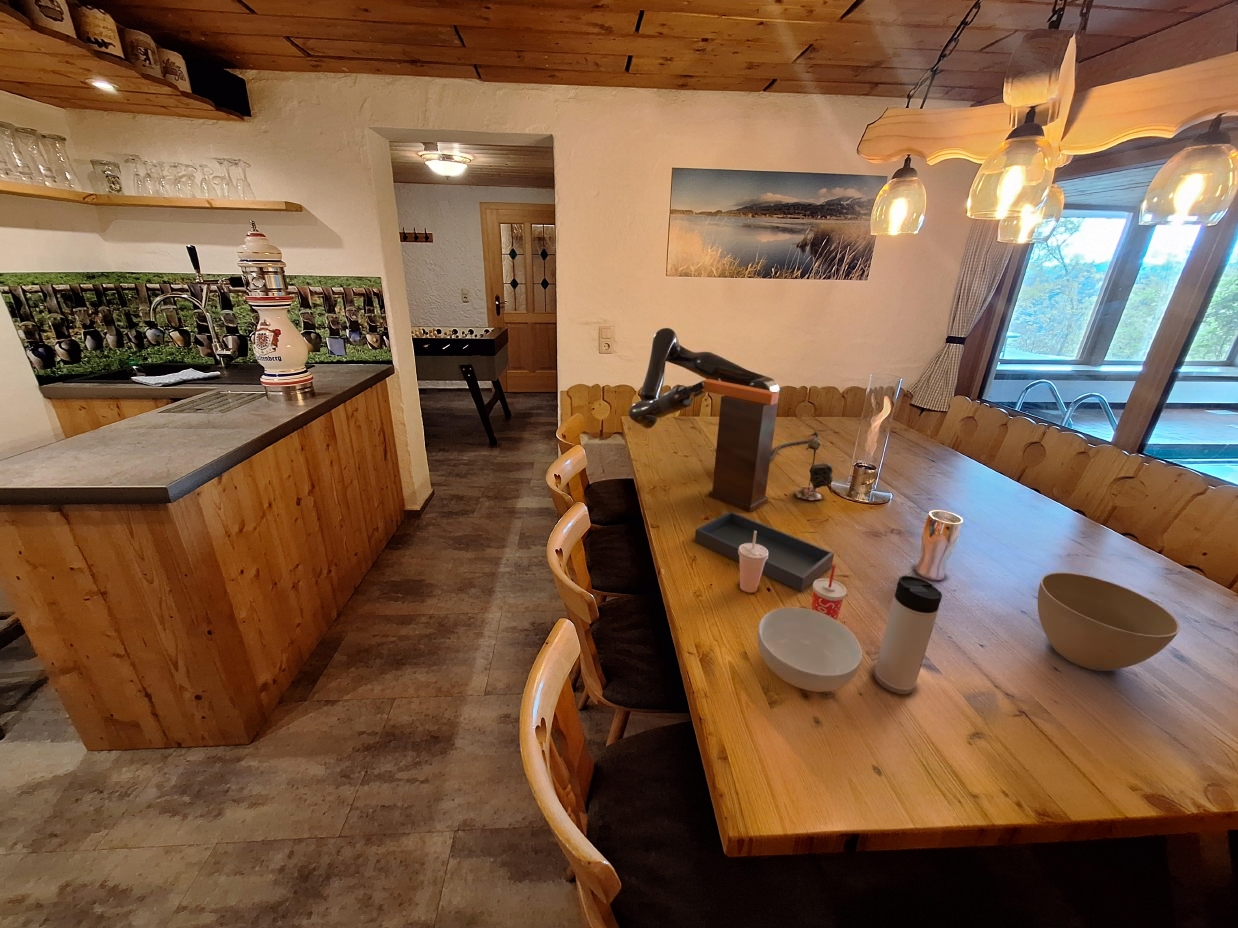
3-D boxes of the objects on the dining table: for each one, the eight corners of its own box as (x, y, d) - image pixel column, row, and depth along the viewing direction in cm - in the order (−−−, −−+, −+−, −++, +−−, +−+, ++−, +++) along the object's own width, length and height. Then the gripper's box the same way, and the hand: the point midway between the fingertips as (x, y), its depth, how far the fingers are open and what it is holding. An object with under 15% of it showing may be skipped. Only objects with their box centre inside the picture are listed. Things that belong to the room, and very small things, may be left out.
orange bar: (708, 388, 153) (709, 379, 152) (777, 402, 137) (779, 392, 136) (700, 390, 151) (701, 380, 149) (770, 405, 134) (771, 394, 133)
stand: (726, 487, 161) (736, 391, 149) (767, 502, 151) (781, 400, 139) (708, 495, 155) (717, 396, 143) (749, 511, 144) (763, 406, 133)
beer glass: (942, 568, 118) (959, 512, 112) (950, 584, 112) (968, 526, 106) (910, 562, 120) (924, 507, 115) (915, 578, 114) (931, 520, 108)
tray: (729, 522, 138) (730, 511, 137) (831, 565, 118) (834, 552, 117) (694, 541, 128) (695, 529, 127) (800, 591, 108) (803, 578, 107)
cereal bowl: (736, 669, 87) (740, 637, 84) (779, 624, 98) (784, 594, 95) (832, 726, 76) (841, 691, 73) (868, 668, 87) (876, 636, 85)
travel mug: (864, 668, 87) (888, 573, 80) (899, 666, 88) (926, 571, 81) (885, 696, 81) (913, 596, 74) (922, 693, 82) (953, 594, 75)
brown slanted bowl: (1117, 706, 80) (1147, 648, 76) (1000, 636, 96) (1019, 584, 91) (1170, 674, 87) (1201, 619, 83) (1053, 613, 102) (1074, 564, 98)
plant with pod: (829, 505, 149) (841, 443, 142) (791, 498, 154) (801, 437, 147) (832, 495, 156) (843, 436, 149) (795, 488, 161) (804, 430, 153)
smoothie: (760, 580, 112) (768, 526, 107) (765, 597, 106) (774, 541, 101) (732, 578, 113) (738, 524, 108) (735, 595, 107) (742, 539, 102)
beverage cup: (799, 623, 98) (810, 563, 93) (815, 611, 102) (827, 553, 97) (828, 639, 94) (841, 578, 89) (844, 626, 98) (857, 566, 93)
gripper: (656, 392, 157) (693, 374, 145) (685, 386, 166) (721, 368, 154) (664, 414, 157) (701, 397, 145) (692, 407, 166) (729, 391, 154)
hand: (711, 382), depth 149 cm, fingers open, 8 cm apart
